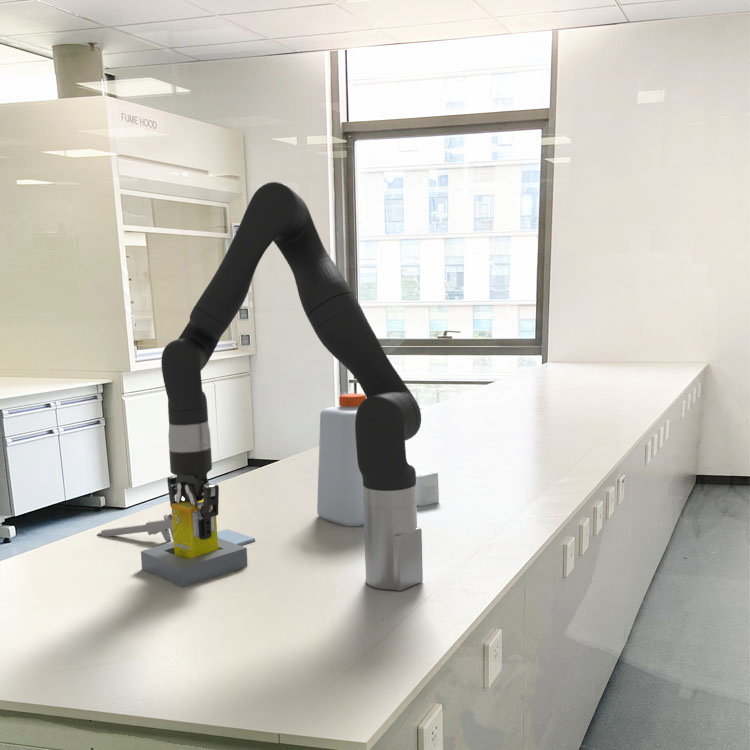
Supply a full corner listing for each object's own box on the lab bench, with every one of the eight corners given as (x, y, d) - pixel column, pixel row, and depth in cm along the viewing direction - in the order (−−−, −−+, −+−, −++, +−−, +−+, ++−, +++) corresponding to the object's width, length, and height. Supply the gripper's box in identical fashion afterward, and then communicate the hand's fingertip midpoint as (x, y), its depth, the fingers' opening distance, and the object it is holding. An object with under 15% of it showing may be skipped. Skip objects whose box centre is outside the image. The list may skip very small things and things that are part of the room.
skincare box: (439, 502, 183) (438, 472, 183) (419, 506, 180) (418, 476, 179) (424, 497, 188) (423, 468, 188) (404, 501, 185) (403, 472, 184)
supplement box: (199, 552, 146) (196, 496, 145) (219, 557, 142) (216, 500, 141) (173, 560, 141) (170, 503, 140) (193, 567, 138) (190, 508, 137)
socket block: (247, 565, 143) (246, 547, 142) (182, 587, 133) (181, 568, 132) (205, 550, 152) (204, 533, 152) (141, 569, 142) (140, 551, 142)
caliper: (178, 543, 158) (177, 513, 158) (175, 544, 157) (174, 515, 157) (100, 535, 166) (98, 507, 165) (96, 536, 165) (94, 508, 164)
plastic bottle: (351, 530, 163) (347, 401, 160) (309, 516, 174) (305, 395, 171) (403, 516, 173) (400, 394, 170) (360, 503, 184) (356, 389, 181)
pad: (255, 541, 157) (255, 538, 157) (214, 553, 150) (214, 550, 150) (227, 531, 164) (227, 529, 164) (186, 543, 157) (186, 540, 157)
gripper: (229, 447, 137) (234, 537, 139) (186, 439, 147) (191, 523, 149) (193, 454, 132) (199, 548, 134) (151, 445, 142) (157, 532, 144)
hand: (195, 534), depth 141 cm, fingers closed on supplement box, 6 cm apart
